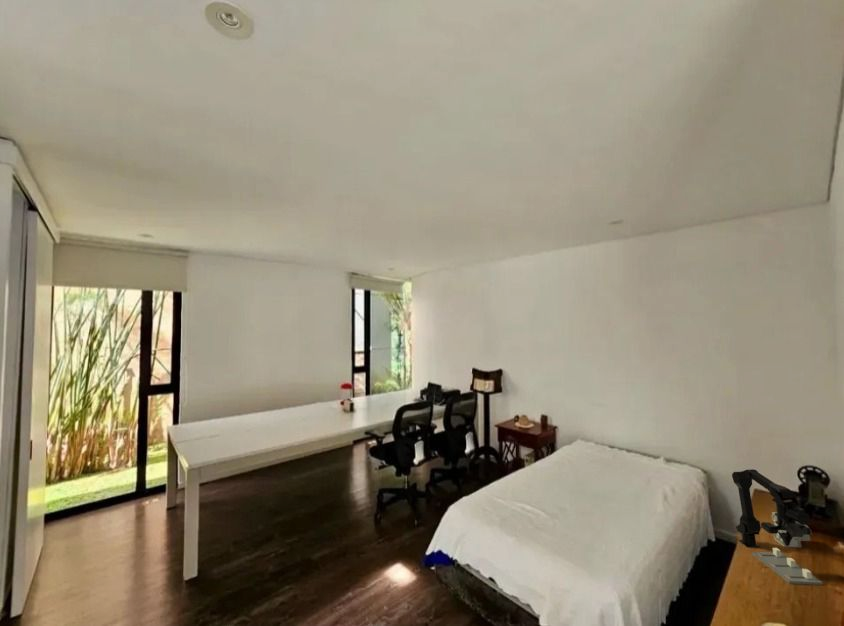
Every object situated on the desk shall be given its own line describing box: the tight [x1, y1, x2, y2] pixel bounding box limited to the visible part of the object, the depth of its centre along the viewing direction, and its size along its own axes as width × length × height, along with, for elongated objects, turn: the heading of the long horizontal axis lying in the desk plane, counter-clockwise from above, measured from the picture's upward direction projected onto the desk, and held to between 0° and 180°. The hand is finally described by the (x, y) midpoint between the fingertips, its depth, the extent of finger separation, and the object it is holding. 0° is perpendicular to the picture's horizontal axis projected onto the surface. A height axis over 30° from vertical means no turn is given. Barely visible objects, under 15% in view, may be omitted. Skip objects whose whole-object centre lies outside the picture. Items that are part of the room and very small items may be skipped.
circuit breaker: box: [771, 511, 811, 548], centre depth 209 cm, size 8×14×15 cm, turn 78°
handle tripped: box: [802, 568, 813, 579], centre depth 178 cm, size 2×2×3 cm
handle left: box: [772, 547, 782, 557], centre depth 196 cm, size 2×2×3 cm
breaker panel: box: [751, 551, 824, 586], centre depth 187 cm, size 24×14×1 cm, turn 172°
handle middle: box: [787, 557, 796, 567], centre depth 187 cm, size 2×2×3 cm
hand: (786, 545), depth 186 cm, fingers closed
